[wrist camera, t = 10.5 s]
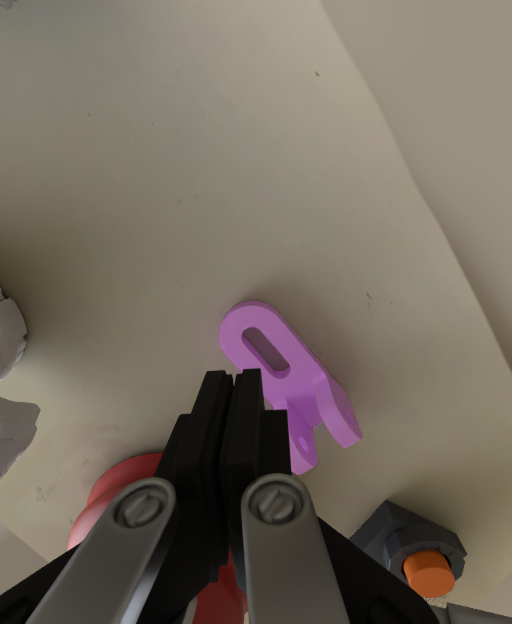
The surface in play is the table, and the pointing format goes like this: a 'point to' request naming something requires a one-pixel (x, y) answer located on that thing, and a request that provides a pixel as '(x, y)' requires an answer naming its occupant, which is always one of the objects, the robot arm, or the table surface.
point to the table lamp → (215, 596)
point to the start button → (428, 573)
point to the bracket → (291, 381)
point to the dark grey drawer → (7, 3)
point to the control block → (406, 539)
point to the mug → (4, 413)
